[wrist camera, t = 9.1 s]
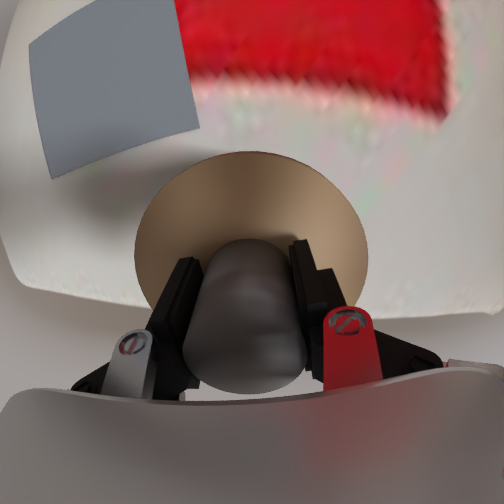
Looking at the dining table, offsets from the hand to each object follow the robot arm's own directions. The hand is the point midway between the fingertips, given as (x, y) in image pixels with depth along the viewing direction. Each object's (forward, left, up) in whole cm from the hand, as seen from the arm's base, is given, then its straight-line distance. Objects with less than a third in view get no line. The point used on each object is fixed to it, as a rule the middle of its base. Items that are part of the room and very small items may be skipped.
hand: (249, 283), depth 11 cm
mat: (+13, -15, -16) cm, 25 cm away
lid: (0, 0, -1) cm, 1 cm away
